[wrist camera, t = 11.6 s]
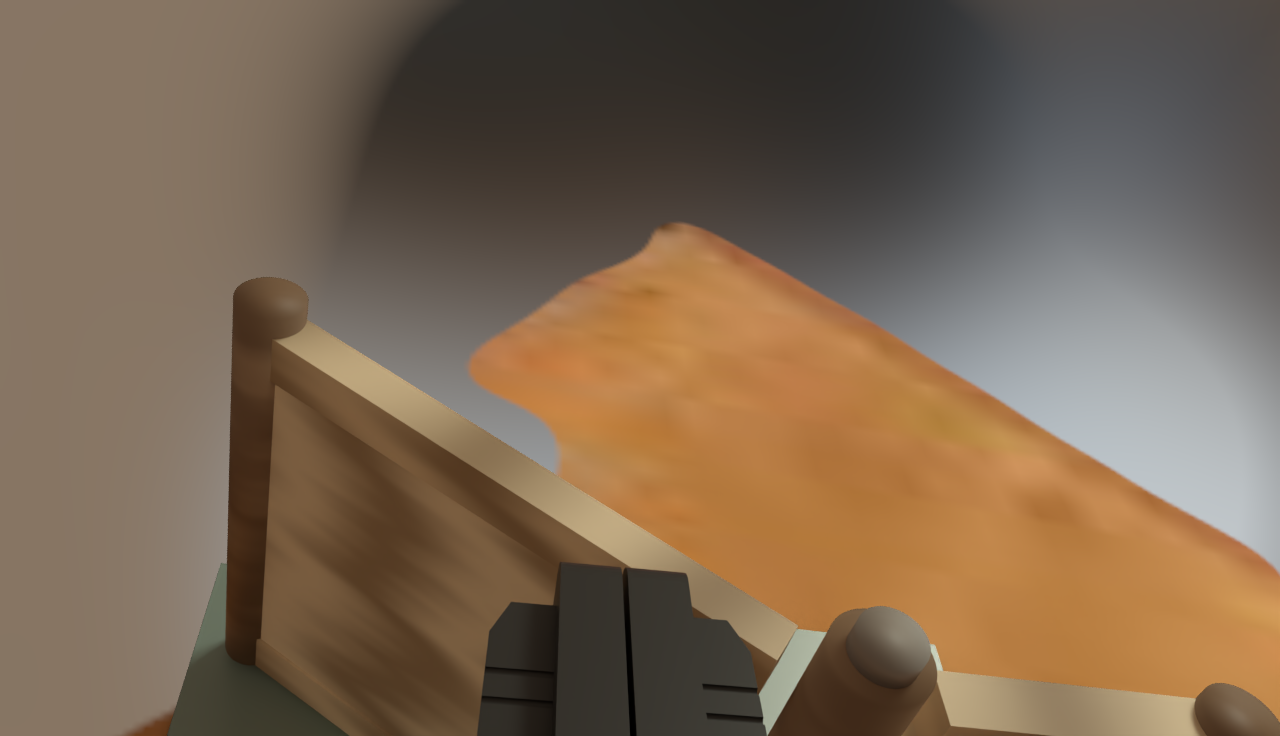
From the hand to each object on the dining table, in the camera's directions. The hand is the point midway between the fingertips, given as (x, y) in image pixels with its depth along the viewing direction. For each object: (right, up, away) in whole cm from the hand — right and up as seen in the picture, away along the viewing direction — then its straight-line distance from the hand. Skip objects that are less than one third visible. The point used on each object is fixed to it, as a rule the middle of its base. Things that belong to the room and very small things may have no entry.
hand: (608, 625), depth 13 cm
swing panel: (-6, -10, +21) cm, 24 cm away
